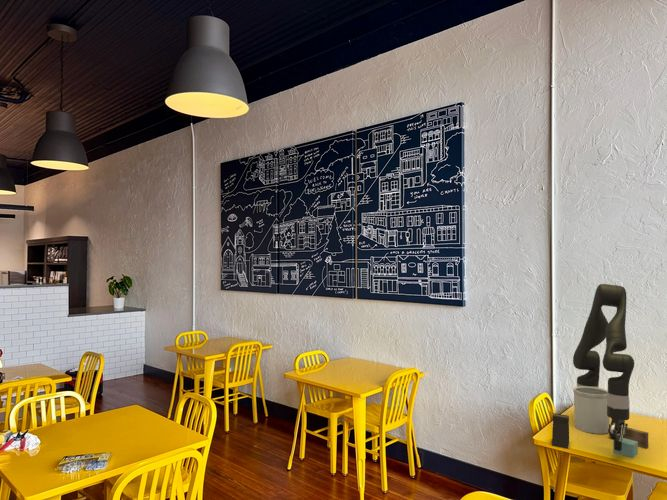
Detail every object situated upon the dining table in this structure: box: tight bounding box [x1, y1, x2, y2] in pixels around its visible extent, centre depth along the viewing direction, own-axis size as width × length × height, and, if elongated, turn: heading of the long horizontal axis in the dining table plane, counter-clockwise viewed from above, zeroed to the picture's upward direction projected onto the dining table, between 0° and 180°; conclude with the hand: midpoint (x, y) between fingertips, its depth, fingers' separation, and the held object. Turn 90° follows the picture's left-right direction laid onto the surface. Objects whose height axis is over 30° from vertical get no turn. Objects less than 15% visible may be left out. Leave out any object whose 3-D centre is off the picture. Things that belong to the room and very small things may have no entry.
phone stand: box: [551, 412, 570, 449], centre depth 197 cm, size 9×6×12 cm, turn 150°
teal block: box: [612, 438, 639, 459], centre depth 188 cm, size 7×6×5 cm
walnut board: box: [608, 423, 649, 450], centre depth 199 cm, size 14×2×6 cm, turn 39°
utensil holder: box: [572, 386, 611, 435], centre depth 216 cm, size 15×15×18 cm
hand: (617, 450), depth 184 cm, fingers closed
